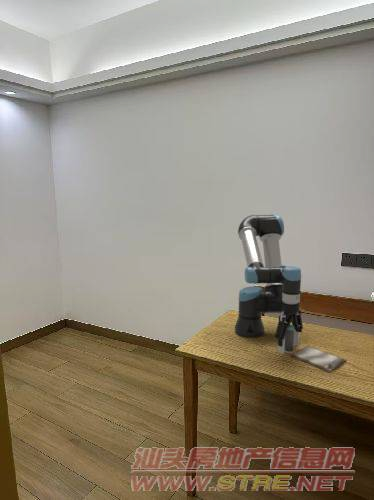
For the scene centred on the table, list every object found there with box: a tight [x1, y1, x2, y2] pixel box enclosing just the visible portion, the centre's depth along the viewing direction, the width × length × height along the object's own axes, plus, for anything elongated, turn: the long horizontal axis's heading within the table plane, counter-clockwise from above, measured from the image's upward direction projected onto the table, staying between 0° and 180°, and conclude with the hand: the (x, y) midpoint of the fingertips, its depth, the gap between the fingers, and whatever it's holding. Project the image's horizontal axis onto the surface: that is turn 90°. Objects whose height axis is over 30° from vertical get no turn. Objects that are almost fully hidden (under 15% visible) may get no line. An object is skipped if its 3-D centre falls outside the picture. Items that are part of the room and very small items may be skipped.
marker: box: [284, 324, 295, 355], centre depth 150 cm, size 4×4×12 cm
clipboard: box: [290, 345, 347, 373], centre depth 144 cm, size 18×14×2 cm
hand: (288, 348), depth 151 cm, fingers open, 11 cm apart
